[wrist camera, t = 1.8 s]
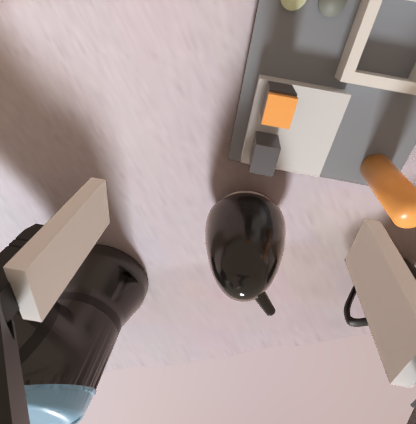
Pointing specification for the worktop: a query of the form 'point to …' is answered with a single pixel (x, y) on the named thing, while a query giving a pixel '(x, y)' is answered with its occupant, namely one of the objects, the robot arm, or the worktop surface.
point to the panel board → (333, 84)
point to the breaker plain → (264, 154)
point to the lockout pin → (391, 189)
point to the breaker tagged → (278, 105)
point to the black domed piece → (245, 246)
